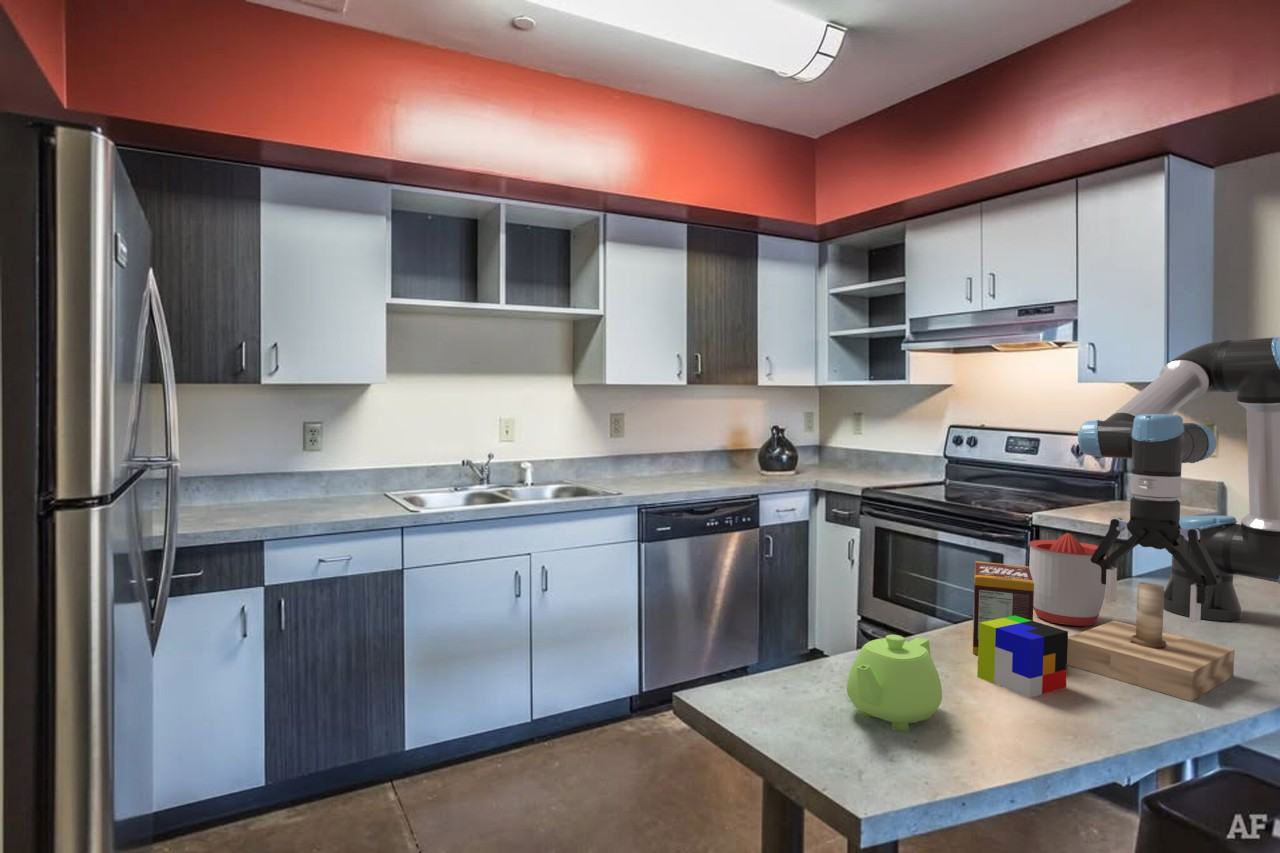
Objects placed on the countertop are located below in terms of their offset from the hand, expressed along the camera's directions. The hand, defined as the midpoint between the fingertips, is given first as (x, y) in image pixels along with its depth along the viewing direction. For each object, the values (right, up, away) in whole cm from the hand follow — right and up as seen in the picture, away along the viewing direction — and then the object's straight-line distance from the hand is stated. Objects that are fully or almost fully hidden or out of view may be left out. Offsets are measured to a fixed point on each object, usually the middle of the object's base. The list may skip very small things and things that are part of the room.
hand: (1151, 611), depth 134 cm
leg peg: (-1, -11, 0) cm, 11 cm away
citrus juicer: (+3, -10, +31) cm, 32 cm away
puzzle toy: (-28, -11, -6) cm, 30 cm away
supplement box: (-22, -11, +12) cm, 27 cm away
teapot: (-55, -11, -21) cm, 60 cm away
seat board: (0, -11, 0) cm, 11 cm away
